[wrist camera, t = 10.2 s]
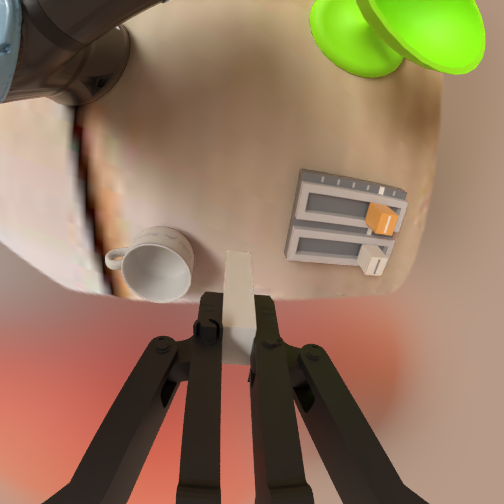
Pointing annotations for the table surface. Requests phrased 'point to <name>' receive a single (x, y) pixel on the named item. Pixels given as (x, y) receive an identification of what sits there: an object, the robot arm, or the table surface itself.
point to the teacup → (156, 264)
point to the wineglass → (399, 34)
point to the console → (338, 218)
